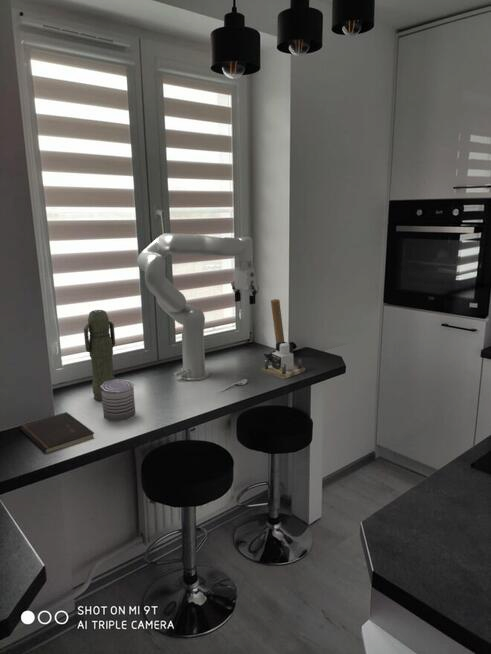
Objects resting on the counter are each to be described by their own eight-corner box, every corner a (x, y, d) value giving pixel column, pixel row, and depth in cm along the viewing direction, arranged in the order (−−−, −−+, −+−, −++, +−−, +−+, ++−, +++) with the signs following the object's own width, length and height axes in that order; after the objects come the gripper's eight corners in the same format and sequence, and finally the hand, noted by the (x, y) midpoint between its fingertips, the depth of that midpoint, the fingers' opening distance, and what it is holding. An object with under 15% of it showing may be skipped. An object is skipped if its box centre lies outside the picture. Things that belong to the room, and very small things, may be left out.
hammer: (273, 366, 236) (265, 308, 225) (265, 364, 239) (257, 307, 228) (297, 350, 250) (291, 294, 239) (289, 348, 253) (282, 293, 242)
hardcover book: (67, 417, 178) (66, 411, 177) (94, 439, 161) (94, 432, 160) (21, 431, 167) (20, 425, 167) (45, 455, 151) (44, 448, 150)
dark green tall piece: (124, 395, 197) (117, 309, 189) (99, 404, 188) (91, 315, 180) (111, 390, 202) (103, 307, 194) (86, 399, 193) (77, 312, 185)
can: (126, 406, 186) (124, 376, 183) (141, 415, 177) (139, 384, 174) (98, 415, 178) (95, 384, 175) (112, 424, 170) (109, 392, 167)
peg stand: (284, 378, 212) (284, 366, 211) (261, 371, 222) (261, 360, 221) (305, 371, 222) (305, 359, 220) (282, 364, 232) (282, 353, 230)
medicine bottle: (271, 367, 223) (271, 342, 220) (284, 364, 226) (284, 339, 224) (280, 371, 217) (280, 345, 214) (293, 369, 220) (293, 343, 218)
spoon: (250, 383, 209) (250, 380, 208) (214, 397, 194) (214, 393, 194) (243, 381, 211) (243, 377, 211) (207, 394, 197) (207, 390, 197)
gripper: (264, 265, 216) (264, 303, 220) (237, 263, 228) (238, 299, 232) (251, 267, 211) (252, 306, 215) (225, 264, 223) (226, 301, 227)
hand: (245, 302), depth 224 cm, fingers open, 9 cm apart
